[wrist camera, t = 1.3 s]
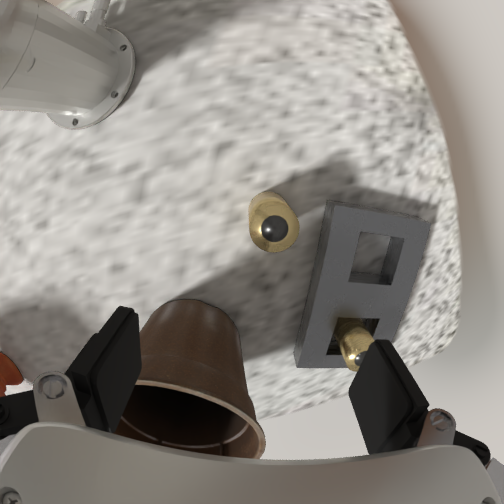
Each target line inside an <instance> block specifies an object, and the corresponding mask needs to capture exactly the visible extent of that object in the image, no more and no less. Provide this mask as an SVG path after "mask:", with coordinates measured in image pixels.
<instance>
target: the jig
mask: <svg viewBox="0 0 504 504" xmlns="http://www.w3.org/2000/svg"><path fill="white" fill-rule="evenodd" d="M430 225H431V223H429V222H427V221H425V220H423V219H421V218H419V217H416V216H411V215H407V214H402V213H397V212H392V211H387V210H382V209H377V208H371V207H366V206H360V205H355V204H349V203H343V202H337V201H331V200H327V202H326V207H325V213H324V219H323V224H322V229H321V234H320V240H319V245H318V250H317V255H316V259H315V264H314V269H313V274H312V278H311V283H310V287H309V292H308V296H307V300H306V304H305V309H304V313H303V317H302V321H301V325H300V329H299V333H298V337H297V341H296V345H295V348H294V352H293V353H294V358H295V362H296V367H297V368H349V369H350V370H352V371H358V369H359V367H360V365H361V363H362V361H363V359H364V356H365V354H366V352H367V350H368V347H369V345H370V344H371V343H372V342H374V341H375V340H376V339H387V340H389V341H390V342H392V339H393V337H394V335H395V332H396V330H397V328H398V325H399V323H400V320H401V317H402V315H403V312H404V310H405V307H406V304H407V302H408V299H409V296H410V293H411V290H412V287H413V284H414V281H415V278H416V275H417V272H418V269H419V266H420V262H421V259H422V256H423V252H424V249H425V245H426V241H427V237H428V234H429V230H430ZM360 231H361V232H367V233H374V234H380V235H387V236H391V239H390V243H389V247H388V251H387V254H386V258H385V262H384V265H383V269H382V272H381V275H379V274H368V273H358V272H351V269H352V265H353V261H354V257H355V253H356V248H357V244H358V240H359V235H360ZM361 318H367V319H366V322H365V324H364V323H363V321H362V320H361ZM333 334H334V337H335V339H336V341H331V338H332V335H333Z"/></svg>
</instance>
